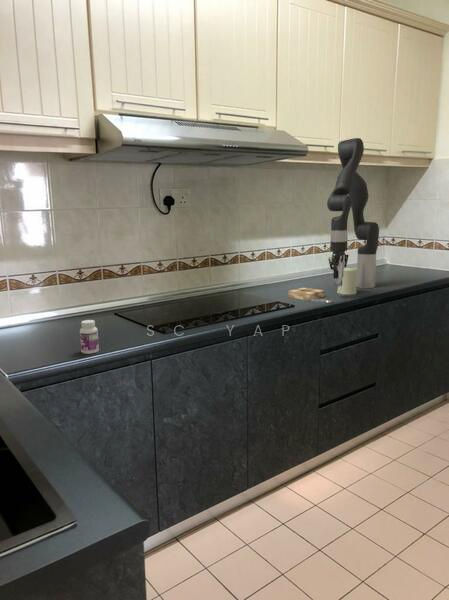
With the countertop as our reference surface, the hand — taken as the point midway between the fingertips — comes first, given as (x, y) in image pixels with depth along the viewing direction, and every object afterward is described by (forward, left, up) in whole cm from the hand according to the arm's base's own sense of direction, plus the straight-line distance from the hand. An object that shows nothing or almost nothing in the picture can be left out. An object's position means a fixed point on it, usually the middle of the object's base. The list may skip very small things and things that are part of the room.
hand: (338, 277), depth 222 cm
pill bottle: (+120, -13, -10) cm, 121 cm away
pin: (0, 0, -4) cm, 4 cm away
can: (-14, -3, -10) cm, 17 cm away
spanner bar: (+12, -2, -9) cm, 15 cm away
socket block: (+7, -12, -9) cm, 17 cm away
